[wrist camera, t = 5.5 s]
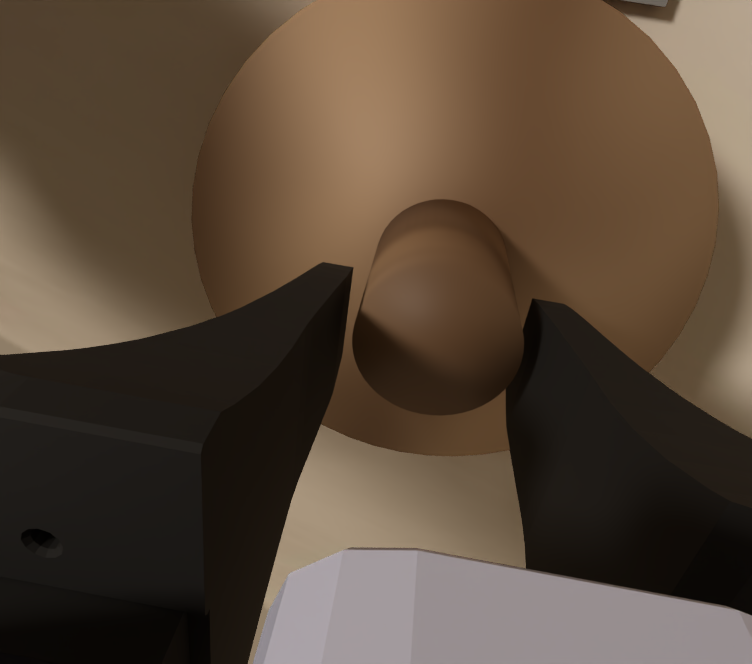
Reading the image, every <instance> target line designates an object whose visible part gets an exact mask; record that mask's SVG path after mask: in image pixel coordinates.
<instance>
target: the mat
mask: <svg viewBox="0 0 752 664" xmlns="http://www.w3.org/2000/svg"><path fill="white" fill-rule="evenodd" d="M622 1H628V2H634V3H641V4H647V5H653V6H660V7H666V5H667V2H668V0H622Z"/></svg>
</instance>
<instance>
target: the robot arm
mask: <svg viewBox="0 0 752 664" xmlns="http://www.w3.org/2000/svg"><path fill="white" fill-rule="evenodd" d="M353 268H354V267H349V266H343V265H337V264H332V263H326V262H322V263H320V264H318V265H316V266H315V267H313V268H311V269H310V270H308V271H306V272H305V273H303V274H302V275H300V276H298V277H297V278H295V279H293V280H292V281H290V282H288V283H287V284H285V285H283V286H281V287H280V288H278V289H276V290H275V291H273V292H271V293H269V294H267V295H265V296H263V297H261V298H259V299H257V300H255V301H253V302H251V303H249V304H247V305H245V306H243V307H241V308H238V309H236V310H234V311H231V312H229V313H227V314H224V315H222V316H219V317H216V318H213V319H210V320H208V321H205V322H202V323H199V324H196V325H193V326H190V327H186V328H182V329H178V330H174V331H170V332H167V333H163V334H159V335H155V336H151V337H147V338H143V339H138V340H132V341H127V342H122V343H116V344H110V345H103V346H96V347H89V348H81V349H73V350H63V351H50V352H37V353H23V354H10V355H0V664H248V660H249V656H250V652H251V648H252V644H253V640H254V636H255V633H256V629H257V625H258V621H259V617H260V613H261V610H262V606H263V602H264V598H265V594H266V591H267V587H268V583H269V580H270V576H271V572H272V568H273V565H274V561H275V557H276V554H277V550H278V546H279V543H280V539H281V535H282V532H283V528H284V525H285V521H286V518H287V514H288V510H289V507H290V503H291V500H292V497H293V494H294V491H295V488H296V485H297V482H298V480H299V477H300V475H301V472H302V470H303V467H304V465H305V462H306V460H307V457H308V455H309V452H310V450H311V447H312V445H313V442H314V440H315V437H316V435H317V432H318V430H319V427H320V425H321V422H322V420H323V417H324V415H325V412H326V410H327V407H328V405H329V402H330V400H331V397H332V394H333V391H334V387H335V383H336V379H337V375H338V371H339V367H340V363H341V359H342V354H343V346H344V338H345V331H346V323H347V315H348V307H349V299H350V291H351V283H352V275H353ZM523 336H524V352H523V357H522V361H521V364H520V367H519V369H518V372H517V373H516V375H515V377H514V379H513V380H512V381H511V383H510V384H509V385H508V387H507V388H506V428H507V435H508V441H509V447H510V453H511V459H512V465H513V471H514V477H515V483H516V489H517V494H518V500H519V506H520V512H521V518H522V525H523V533H524V541H525V556H526V569H525V568H520V567H515V566H509V565H504V564H499V563H493V562H488V561H483V560H477V559H472V558H466V557H461V556H456V555H450V554H445V553H440V552H434V551H429V550H424V549H418V548H348V549H345V550H342V551H340V552H337V553H335V554H333V555H330V556H328V557H326V558H323V559H321V560H319V561H317V562H314V563H312V564H310V565H307V566H305V567H303V568H300V569H298V570H296V571H293V572H291V573H289V574H288V576H287V578H286V580H285V582H284V583H283V585H282V587H281V589H280V591H279V593H278V594H277V596H276V598H275V600H274V602H273V604H272V605H271V607H270V609H269V611H268V614H267V617H266V621H265V624H264V627H263V631H262V634H261V638H260V641H259V644H258V648H257V651H256V654H255V658H254V661H253V664H752V439H751V438H749V437H747V436H745V435H743V434H741V433H739V432H738V431H736V430H734V429H732V428H731V427H729V426H727V425H725V424H724V423H722V422H720V421H719V420H717V419H715V418H714V417H712V416H711V415H709V414H707V413H706V412H704V411H703V410H701V409H700V408H698V407H696V406H695V405H693V404H692V403H690V402H689V401H687V400H685V399H684V398H682V397H681V396H680V395H678V394H677V393H675V392H674V391H672V390H671V389H669V388H668V387H667V386H665V385H664V384H663V383H661V382H660V381H659V380H657V379H656V378H655V377H653V376H652V375H651V374H649V373H648V372H647V371H646V370H644V369H643V368H642V367H640V366H639V365H638V364H637V363H635V362H634V361H633V360H632V359H630V358H629V357H628V356H627V355H626V354H624V353H623V352H622V351H621V350H620V349H619V348H617V347H616V346H615V345H614V344H613V343H611V342H610V341H609V340H608V339H607V338H606V337H605V336H603V335H602V334H601V333H600V332H599V331H598V330H597V329H595V328H594V327H593V326H592V325H591V324H590V323H589V322H587V321H586V320H585V319H584V318H583V317H581V316H580V315H579V314H578V313H577V312H575V311H574V310H573V309H571V308H570V307H568V306H567V305H565V304H562V303H557V302H551V301H545V300H539V299H534V298H532V301H531V304H530V307H529V311H528V314H527V317H526V320H525V324H524V327H523Z"/></svg>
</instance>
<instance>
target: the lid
mask: <svg viewBox="0 0 752 664" xmlns="http://www.w3.org/2000/svg"><path fill="white" fill-rule="evenodd" d="M718 213H719V201H718V183H717V171H716V166H715V162H714V157H713V152H712V147H711V143H710V138H709V135H708V133H707V130H706V127H705V125H704V122H703V120H702V117H701V114H700V112H699V109H698V107H697V104H696V102H695V100H694V98H693V97H692V95H691V93H690V92H689V90H688V88H687V86H686V85H685V83H684V81H683V80H682V78H681V76H680V74H679V73H678V71H677V69H676V68H675V67H674V66H673V64H672V63H671V62H670V61H669V60H668V58H667V57H666V56H665V55H664V54H663V52H662V51H661V50H660V49H659V48H658V46H657V45H656V44H655V43H654V42H653V40H652V39H651V38H650V37H649V36H648V35H646V34H645V33H644V32H643V31H642V30H641V29H640V28H638V27H637V26H636V25H635V24H634V23H633V22H631V21H630V20H629V19H628V18H627V17H626V16H625V15H623V14H622V13H621V12H620V11H618V10H617V9H615V8H613V7H612V6H610V5H609V4H607V3H605V2H604V1H602V0H317V1H315V2H313V3H311V4H310V5H308V6H306V7H305V8H303V9H301V10H300V11H299V12H298V13H296V14H295V15H294V16H293V17H291V18H290V19H289V20H288V21H286V22H285V23H284V24H283V25H281V26H280V27H279V28H278V29H277V30H275V31H274V32H273V33H272V34H271V35H270V36H269V37H268V38H267V39H266V40H265V41H264V42H263V43H262V44H261V45H260V46H259V47H258V49H257V50H256V51H255V52H254V53H253V54H252V55H251V56H250V57H249V58H248V59H247V60H246V62H245V63H244V64H243V66H242V67H241V69H240V70H239V72H238V73H237V75H236V76H235V78H234V79H233V80H232V82H231V83H230V85H229V86H228V88H227V89H226V91H225V92H224V94H223V96H222V98H221V100H220V102H219V104H218V106H217V108H216V111H215V113H214V115H213V117H212V119H211V121H210V123H209V125H208V128H207V131H206V135H205V138H204V141H203V144H202V147H201V150H200V153H199V156H198V162H197V167H196V173H195V179H194V185H193V197H192V229H193V239H194V249H195V254H196V259H197V263H198V267H199V272H200V276H201V280H202V283H203V285H204V288H205V291H206V294H207V296H208V299H209V302H210V304H211V307H212V309H213V311H214V313H215V315H216V317H219V316H222V315H224V314H227V313H229V312H231V311H234V310H236V309H238V308H241V307H243V306H245V305H247V304H249V303H251V302H253V301H255V300H257V299H259V298H261V297H263V296H265V295H267V294H269V293H271V292H273V291H275V290H276V289H278V288H280V287H281V286H283V285H285V284H287V283H288V282H290V281H292V280H293V279H295V278H297V277H298V276H300V275H302V274H303V273H305V272H306V271H308V270H310V269H311V268H313V267H315V266H316V265H318V264H320V263H322V262H326V263H332V264H337V265H343V266H349V267H354V268H353V275H352V283H351V291H350V299H349V307H348V315H347V323H346V331H345V338H344V346H343V354H342V359H341V363H340V367H339V371H338V375H337V379H336V383H335V387H334V391H333V394H332V397H331V400H330V402H329V405H328V407H327V410H326V412H325V415H324V417H323V420H322V422H321V424H322V425H324V426H326V427H328V428H330V429H333V430H335V431H337V432H339V433H341V434H344V435H346V436H348V437H351V438H354V439H356V440H359V441H362V442H365V443H368V444H371V445H374V446H378V447H383V448H387V449H391V450H395V451H400V452H407V453H414V454H422V455H435V456H465V455H479V454H488V453H493V452H499V451H505V450H510V447H509V441H508V435H507V428H506V388H507V387H508V385H509V384H510V383H511V381H512V380H513V379H514V377H515V375H516V373H517V372H518V369H519V367H520V364H521V361H522V357H523V352H524V336H523V327H524V324H525V320H526V317H527V314H528V311H529V307H530V304H531V301H532V298H534V299H539V300H545V301H551V302H557V303H562V304H565V305H567V306H568V307H570V308H571V309H573V310H574V311H575V312H577V313H578V314H579V315H580V316H581V317H583V318H584V319H585V320H586V321H587V322H589V323H590V324H591V325H592V326H593V327H594V328H595V329H597V330H598V331H599V332H600V333H601V334H602V335H603V336H605V337H606V338H607V339H608V340H609V341H610V342H611V343H613V344H614V345H615V346H616V347H617V348H619V349H620V350H621V351H622V352H623V353H624V354H626V355H627V356H628V357H629V358H630V359H632V360H633V361H634V362H635V363H637V364H638V365H639V366H640V367H642V368H643V369H644V370H646V371H647V372H648V373H649V372H650V371H651V370H652V369H653V368H654V366H655V365H656V364H657V363H658V362H659V361H660V360H661V359H662V358H663V356H664V355H665V354H666V352H667V351H668V349H669V348H670V347H671V345H672V344H673V343H674V341H675V340H676V339H677V337H678V336H679V335H680V333H681V331H682V329H683V328H684V326H685V324H686V322H687V320H688V319H689V317H690V315H691V313H692V311H693V310H694V308H695V306H696V304H697V301H698V299H699V296H700V293H701V291H702V288H703V286H704V283H705V281H706V278H707V276H708V272H709V268H710V264H711V260H712V256H713V251H714V247H715V243H716V234H717V223H718Z"/></svg>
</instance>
